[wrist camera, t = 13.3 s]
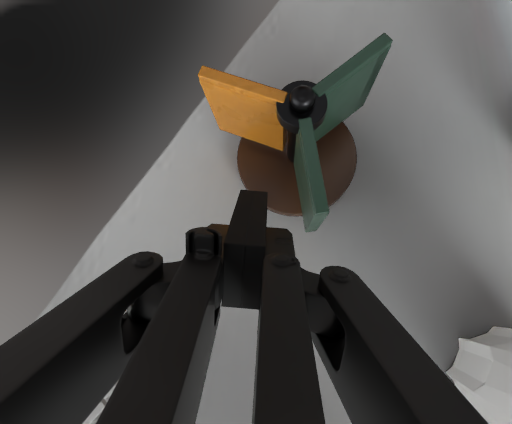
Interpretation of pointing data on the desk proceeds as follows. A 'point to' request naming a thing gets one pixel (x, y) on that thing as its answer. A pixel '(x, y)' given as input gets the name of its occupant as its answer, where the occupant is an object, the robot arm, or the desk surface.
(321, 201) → the three-panel rotating stand
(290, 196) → the rack stand
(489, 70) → the desk surface
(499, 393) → the cup
